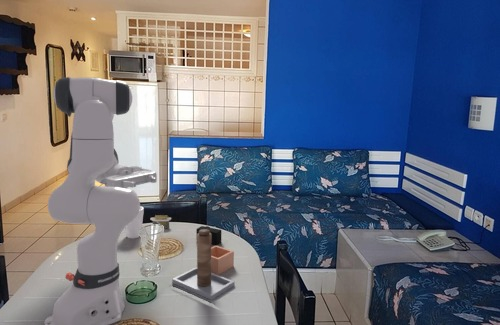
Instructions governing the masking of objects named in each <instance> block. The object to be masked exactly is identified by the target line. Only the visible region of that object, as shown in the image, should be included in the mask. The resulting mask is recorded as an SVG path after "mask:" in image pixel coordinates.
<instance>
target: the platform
mask: <svg viewBox="0 0 500 325" xmlns="http://www.w3.org/2000/svg"><path fill="white" fill-rule="evenodd" d="M171 220H172V217H168V215H156V214H155V216H154V217H150V221H152V225H153V224H160V225H163V226H164V227H165V228H164V229H166V228H170V221H171Z"/></svg>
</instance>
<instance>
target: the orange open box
mask: <svg viewBox="0 0 500 325" xmlns="http://www.w3.org/2000/svg"><path fill="white" fill-rule="evenodd" d="M234 257H235V251H234V250H231V249H227V248H224V247H223V246H219V245H217V246H215V245H213V246H211V273H214V274H217V275H219V276H220V275H221V274H222V273H224V272H226V271H228V270H229V269H232V268H233V267H234V266H235V265H234V263H235V262H234V261H235V260H234V259H235V258H234Z"/></svg>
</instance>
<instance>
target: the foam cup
mask: <svg viewBox="0 0 500 325" xmlns="http://www.w3.org/2000/svg"><path fill="white" fill-rule="evenodd" d="M144 210H145V208H144V206H141V205H140V209H139V213H138V215H137V216H136V218H135V219H134V220H133V221H132V222H130V223H129V224H128V225H127V226H126V227H125V228H124V229H125V234H126V238H128V239H137V238H140V237H139V235H138V233H137V232H138V230H139V229H141V228H142V229H143V221H144V220H143V219H144V214H145V213H144V212H145V211H144Z"/></svg>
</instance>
